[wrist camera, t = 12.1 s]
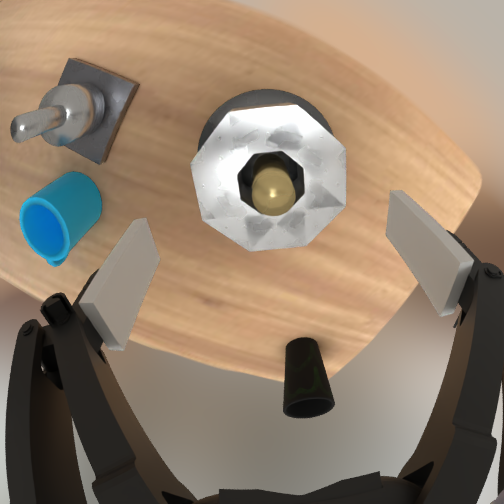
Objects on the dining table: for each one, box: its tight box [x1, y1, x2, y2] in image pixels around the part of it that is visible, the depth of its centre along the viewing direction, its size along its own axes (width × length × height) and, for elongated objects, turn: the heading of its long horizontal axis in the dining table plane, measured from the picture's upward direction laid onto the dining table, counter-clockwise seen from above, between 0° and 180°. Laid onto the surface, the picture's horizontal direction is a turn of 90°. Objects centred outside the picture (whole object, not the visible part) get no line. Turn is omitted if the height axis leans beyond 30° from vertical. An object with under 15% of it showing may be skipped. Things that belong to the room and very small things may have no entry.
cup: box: [283, 338, 335, 418], centre depth 40 cm, size 8×8×12 cm
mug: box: [20, 171, 102, 267], centre depth 29 cm, size 12×8×8 cm
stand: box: [11, 58, 140, 165], centre depth 20 cm, size 10×10×12 cm
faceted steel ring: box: [190, 103, 346, 252], centre depth 22 cm, size 11×11×4 cm
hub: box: [198, 89, 334, 216], centre depth 23 cm, size 14×14×12 cm
